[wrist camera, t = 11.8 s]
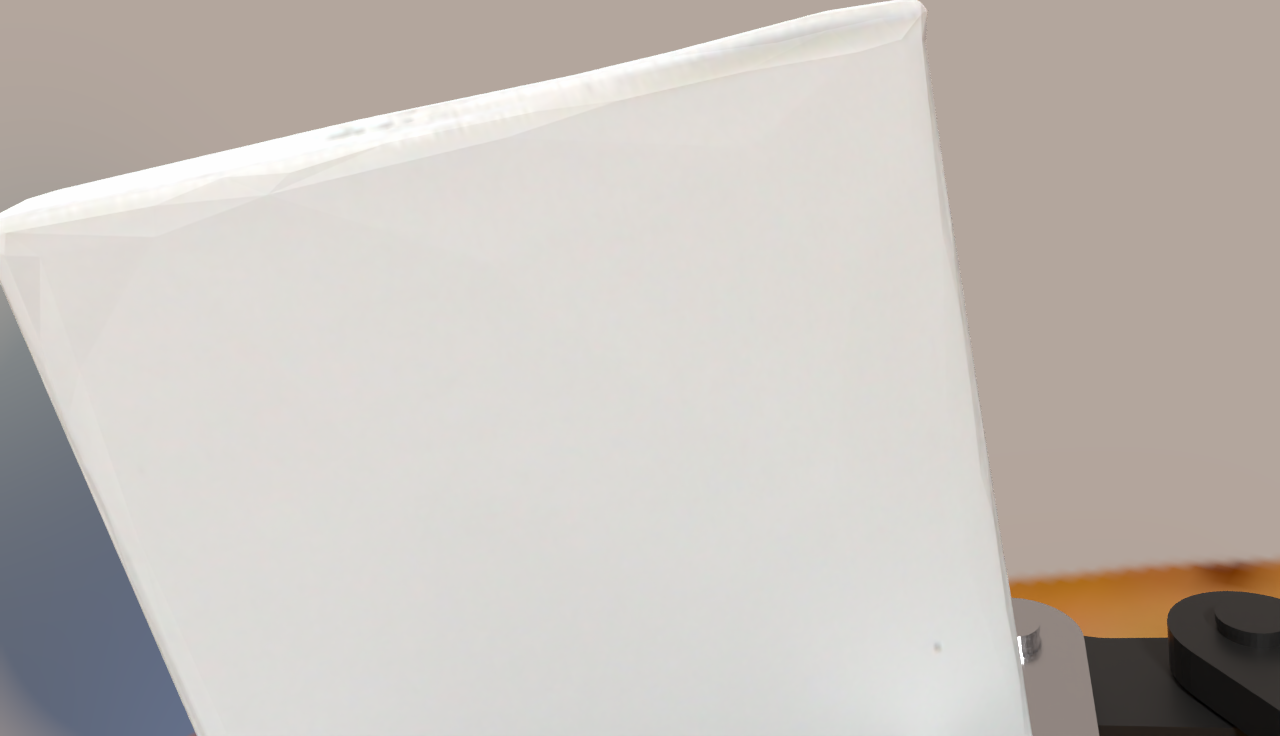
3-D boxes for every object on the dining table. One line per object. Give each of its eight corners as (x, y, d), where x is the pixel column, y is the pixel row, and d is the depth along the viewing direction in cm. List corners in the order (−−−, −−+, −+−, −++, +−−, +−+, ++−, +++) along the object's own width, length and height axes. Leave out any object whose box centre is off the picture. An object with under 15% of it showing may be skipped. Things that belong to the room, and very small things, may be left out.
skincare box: (1157, 1479, 8) (1050, -50, 4) (606, 1824, 7) (-146, 168, 3) (806, 846, 16) (664, 119, 12) (525, 959, 15) (280, 199, 11)
